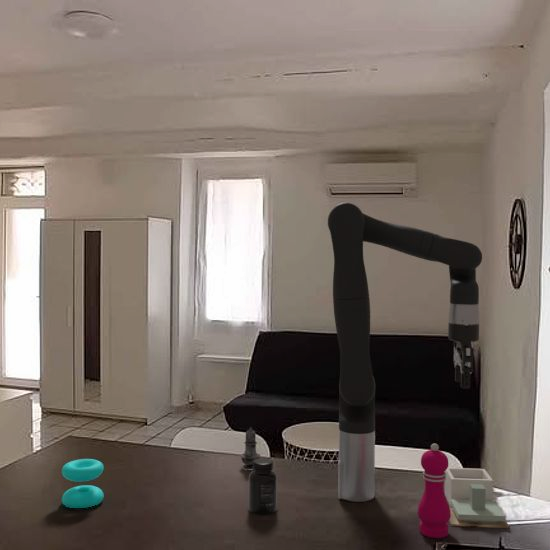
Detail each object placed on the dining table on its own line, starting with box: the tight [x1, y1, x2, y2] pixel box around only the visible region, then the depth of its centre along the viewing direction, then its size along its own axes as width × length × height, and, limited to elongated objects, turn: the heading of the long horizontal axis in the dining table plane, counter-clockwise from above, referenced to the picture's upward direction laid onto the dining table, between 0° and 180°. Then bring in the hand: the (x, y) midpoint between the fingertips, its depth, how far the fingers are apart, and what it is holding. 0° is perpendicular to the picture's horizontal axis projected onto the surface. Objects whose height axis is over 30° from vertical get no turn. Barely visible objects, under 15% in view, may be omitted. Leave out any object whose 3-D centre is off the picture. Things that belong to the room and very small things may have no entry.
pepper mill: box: [417, 443, 451, 539], centre depth 146 cm, size 7×7×20 cm
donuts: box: [61, 458, 105, 509], centre depth 162 cm, size 10×10×10 cm
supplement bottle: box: [248, 457, 278, 516], centre depth 158 cm, size 7×7×12 cm
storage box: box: [444, 467, 494, 508], centre depth 165 cm, size 10×9×7 cm
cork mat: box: [448, 507, 511, 529], centre depth 154 cm, size 13×10×1 cm
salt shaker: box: [240, 426, 261, 469], centre depth 191 cm, size 6×6×12 cm
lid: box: [450, 484, 507, 523], centre depth 154 cm, size 11×10×7 cm
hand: (462, 385), depth 166 cm, fingers open, 8 cm apart
